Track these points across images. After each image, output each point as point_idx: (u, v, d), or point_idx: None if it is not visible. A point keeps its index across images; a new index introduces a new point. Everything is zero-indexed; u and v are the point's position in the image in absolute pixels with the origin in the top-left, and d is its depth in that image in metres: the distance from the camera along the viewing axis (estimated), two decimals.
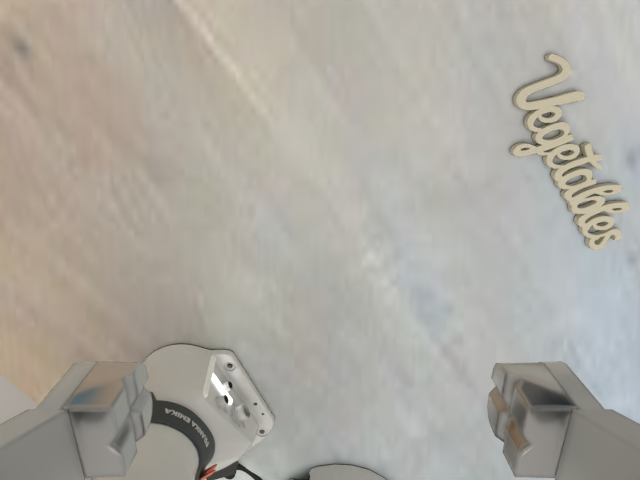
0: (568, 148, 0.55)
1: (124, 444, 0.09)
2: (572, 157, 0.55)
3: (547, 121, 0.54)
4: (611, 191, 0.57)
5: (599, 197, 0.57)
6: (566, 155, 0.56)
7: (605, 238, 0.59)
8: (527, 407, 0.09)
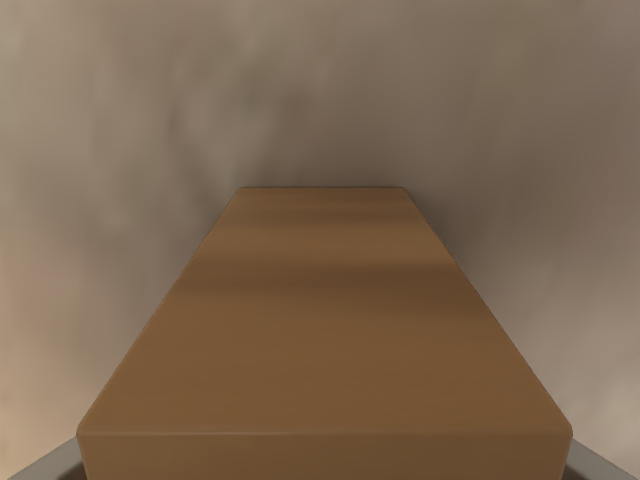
0: None
1: None
2: None
3: None
4: None
5: None
6: None
7: None
8: None
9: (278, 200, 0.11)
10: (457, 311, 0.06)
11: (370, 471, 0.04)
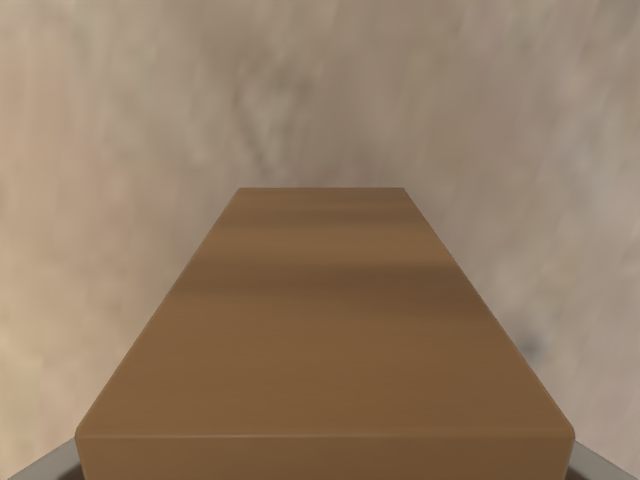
0: None
1: None
2: None
3: None
4: None
5: None
6: None
7: None
8: None
9: (278, 200, 0.11)
10: (458, 312, 0.06)
11: (370, 474, 0.04)
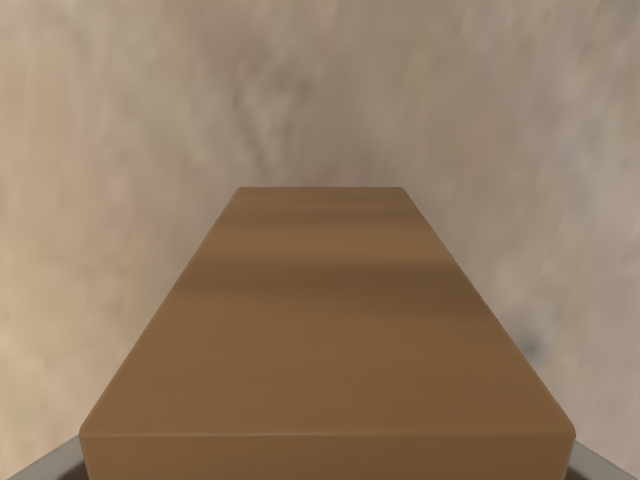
0: None
1: None
2: None
3: None
4: None
5: None
6: None
7: None
8: None
9: (278, 200, 0.11)
10: (458, 311, 0.06)
11: (373, 471, 0.04)
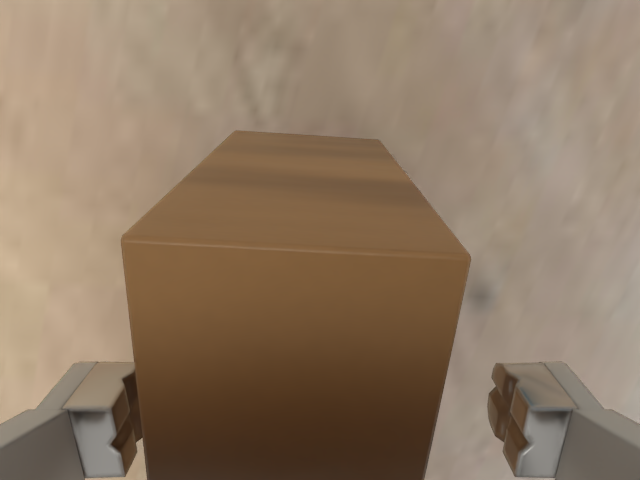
0: None
1: (124, 444, 0.09)
2: None
3: None
4: None
5: None
6: None
7: None
8: (527, 407, 0.09)
9: (269, 140, 0.13)
10: (406, 204, 0.08)
11: (328, 282, 0.06)
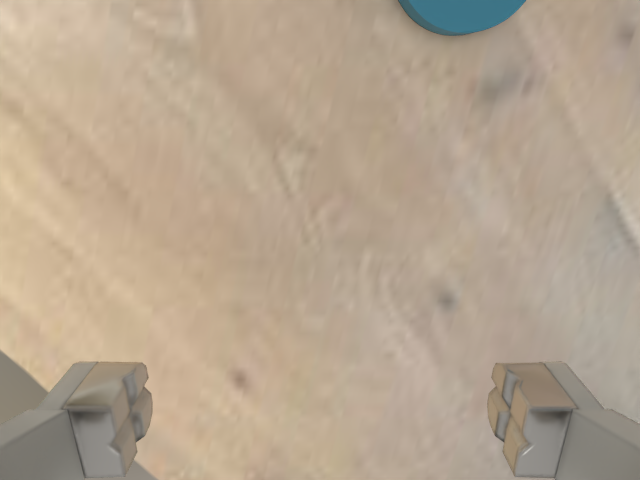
0: None
1: (124, 444, 0.09)
2: None
3: None
4: None
5: None
6: None
7: None
8: (527, 407, 0.09)
9: None
10: None
11: None
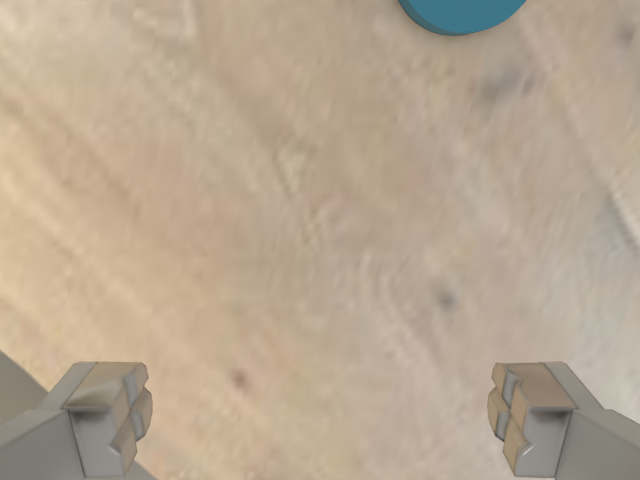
0: None
1: (124, 444, 0.09)
2: None
3: None
4: None
5: None
6: None
7: None
8: (527, 407, 0.09)
9: None
10: None
11: None
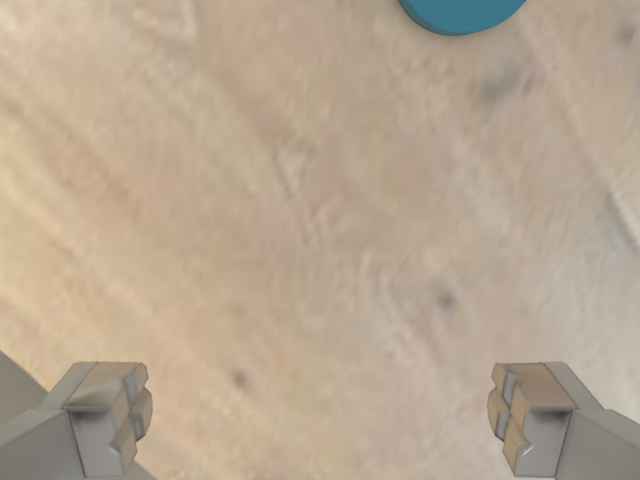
0: None
1: (124, 444, 0.09)
2: None
3: None
4: None
5: None
6: None
7: None
8: (527, 407, 0.09)
9: None
10: None
11: None
